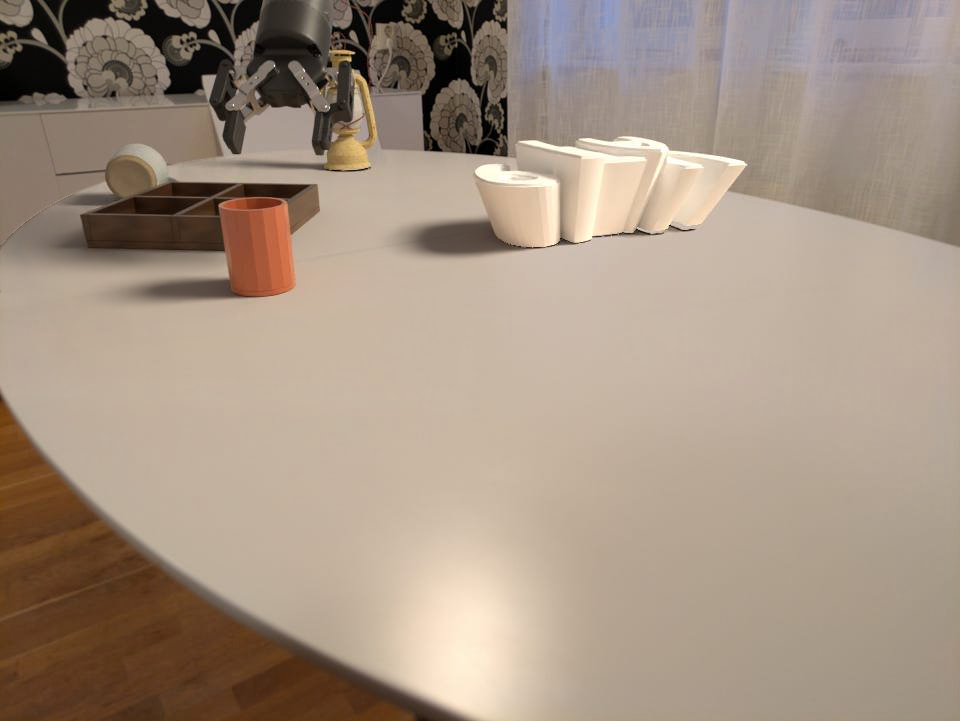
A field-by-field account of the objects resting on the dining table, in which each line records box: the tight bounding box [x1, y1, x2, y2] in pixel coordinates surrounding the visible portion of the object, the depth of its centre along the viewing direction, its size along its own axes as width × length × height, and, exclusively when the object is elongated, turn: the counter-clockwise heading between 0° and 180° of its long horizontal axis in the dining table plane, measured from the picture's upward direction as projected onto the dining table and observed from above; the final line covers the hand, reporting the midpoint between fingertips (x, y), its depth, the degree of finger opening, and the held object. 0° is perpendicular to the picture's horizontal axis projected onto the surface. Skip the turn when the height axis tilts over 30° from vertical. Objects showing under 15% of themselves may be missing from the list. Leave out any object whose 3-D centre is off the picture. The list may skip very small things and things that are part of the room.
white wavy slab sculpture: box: [472, 136, 748, 249], centre depth 85 cm, size 35×16×11 cm, turn 111°
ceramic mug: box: [104, 143, 182, 200], centre depth 101 cm, size 11×8×8 cm
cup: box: [218, 197, 297, 297], centre depth 63 cm, size 6×6×8 cm
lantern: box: [313, 0, 378, 170], centre depth 125 cm, size 12×10×30 cm
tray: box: [79, 181, 321, 251], centre depth 86 cm, size 21×21×4 cm
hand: (275, 150), depth 67 cm, fingers open, 8 cm apart
